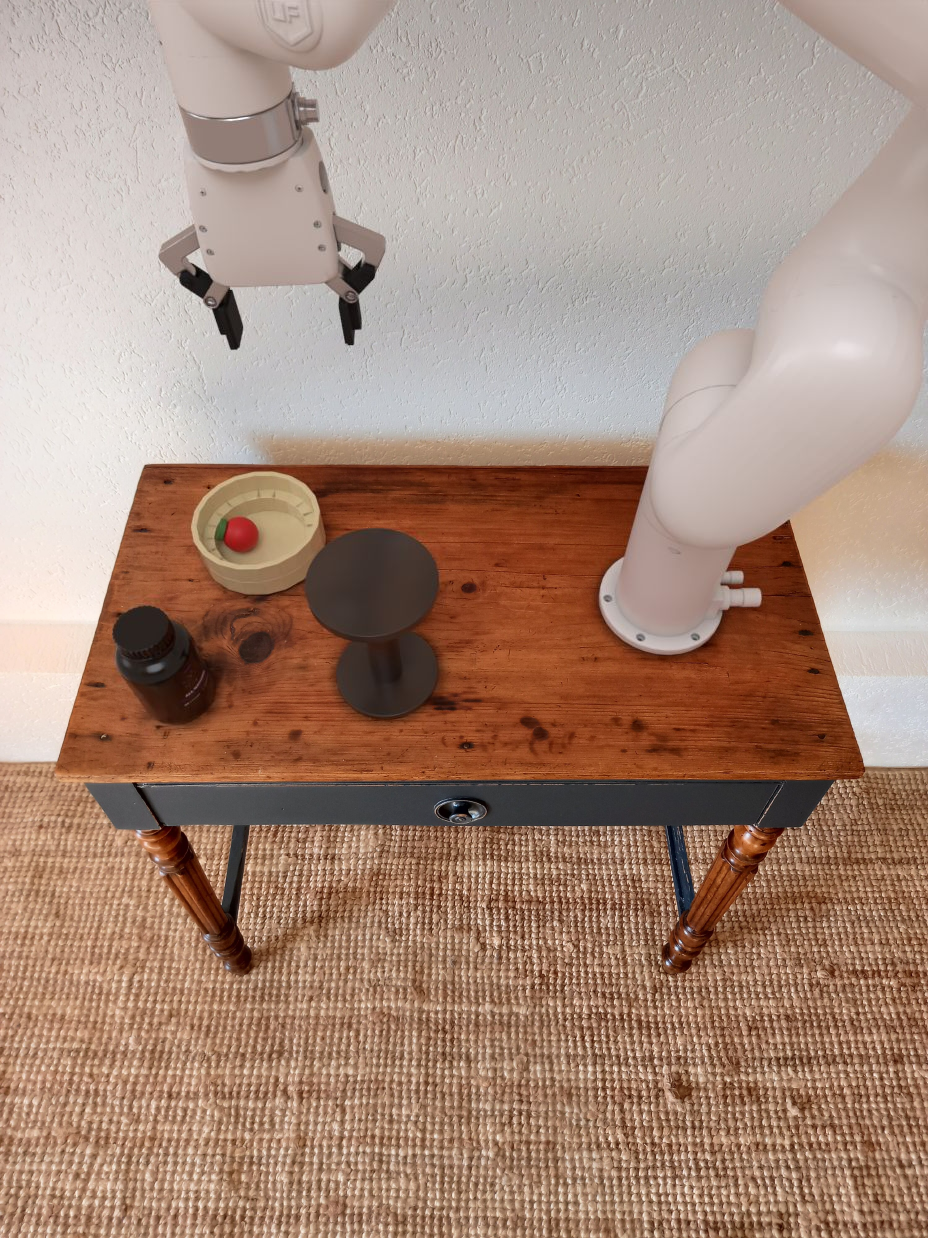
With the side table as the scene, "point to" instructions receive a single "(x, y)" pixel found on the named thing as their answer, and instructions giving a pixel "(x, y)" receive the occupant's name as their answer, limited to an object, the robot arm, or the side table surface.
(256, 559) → the bowl
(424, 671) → the cake stand
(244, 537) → the tomato
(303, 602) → the side table surface
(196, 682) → the supplement bottle
